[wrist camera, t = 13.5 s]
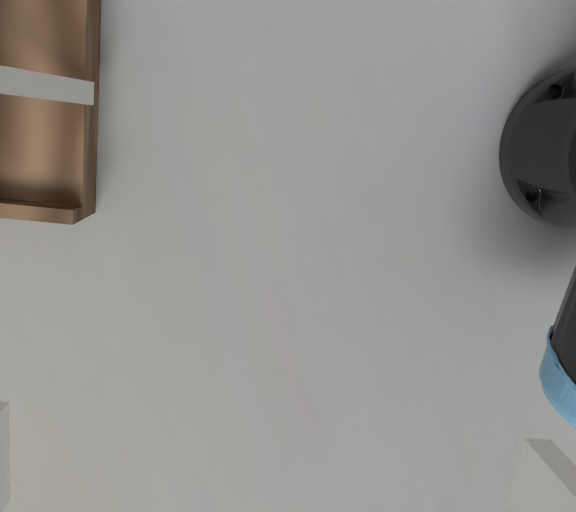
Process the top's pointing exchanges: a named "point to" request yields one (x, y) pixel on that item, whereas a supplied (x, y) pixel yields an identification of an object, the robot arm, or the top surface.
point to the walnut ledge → (49, 112)
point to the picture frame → (45, 86)
